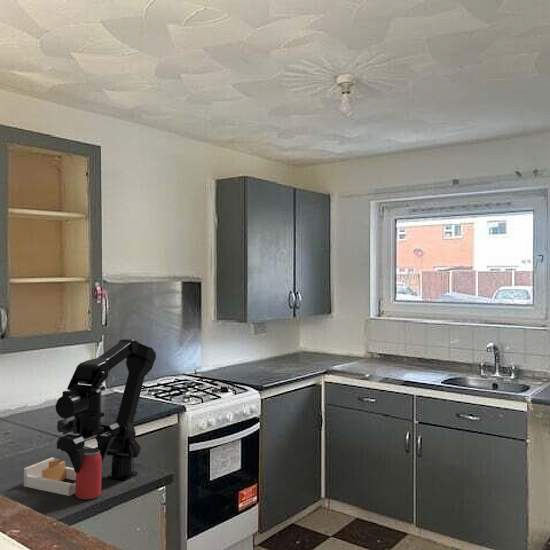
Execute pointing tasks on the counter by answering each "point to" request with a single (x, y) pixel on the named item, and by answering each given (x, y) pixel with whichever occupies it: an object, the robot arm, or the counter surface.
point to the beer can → (89, 475)
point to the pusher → (54, 470)
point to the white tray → (36, 481)
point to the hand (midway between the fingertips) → (89, 467)
